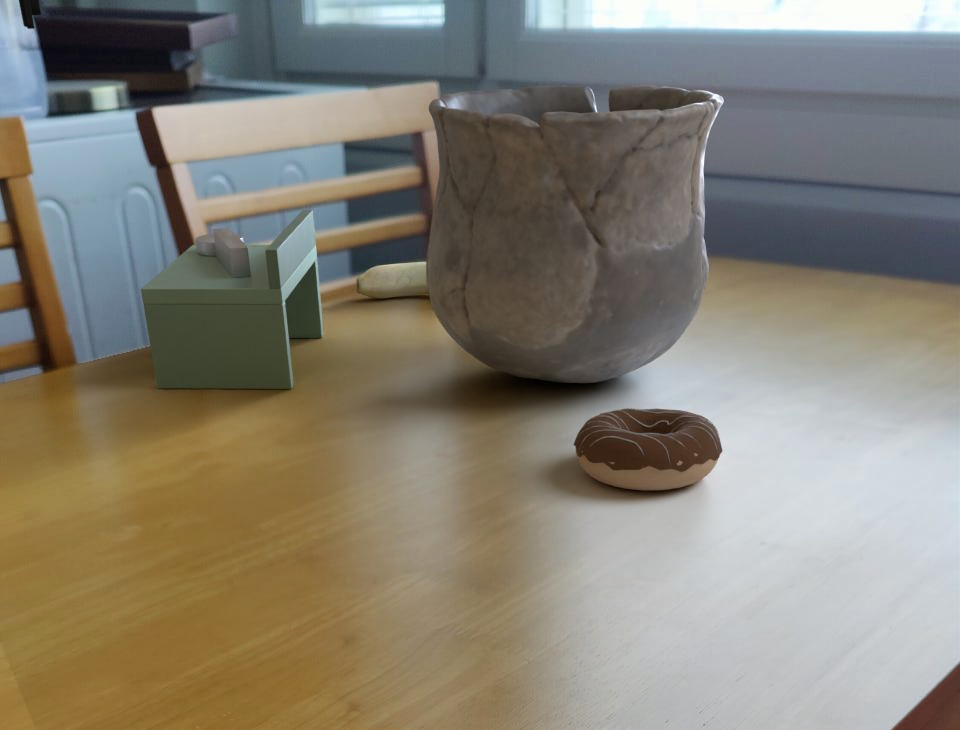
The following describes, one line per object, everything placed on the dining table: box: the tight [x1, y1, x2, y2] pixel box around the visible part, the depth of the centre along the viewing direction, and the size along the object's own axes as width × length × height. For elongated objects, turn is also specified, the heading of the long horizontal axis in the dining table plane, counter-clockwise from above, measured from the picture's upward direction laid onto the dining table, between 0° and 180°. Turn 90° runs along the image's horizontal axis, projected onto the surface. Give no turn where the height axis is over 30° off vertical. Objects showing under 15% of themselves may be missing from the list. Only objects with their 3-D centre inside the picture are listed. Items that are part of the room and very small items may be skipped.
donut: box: [572, 407, 723, 491], centre depth 88 cm, size 11×11×4 cm
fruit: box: [355, 261, 430, 299], centre depth 131 cm, size 7×15×3 cm, turn 77°
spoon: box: [194, 227, 251, 278], centre depth 109 cm, size 14×4×2 cm, turn 19°
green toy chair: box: [140, 209, 325, 390], centre depth 110 cm, size 12×18×11 cm, turn 177°
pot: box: [425, 85, 725, 384], centre depth 103 cm, size 25×24×21 cm
